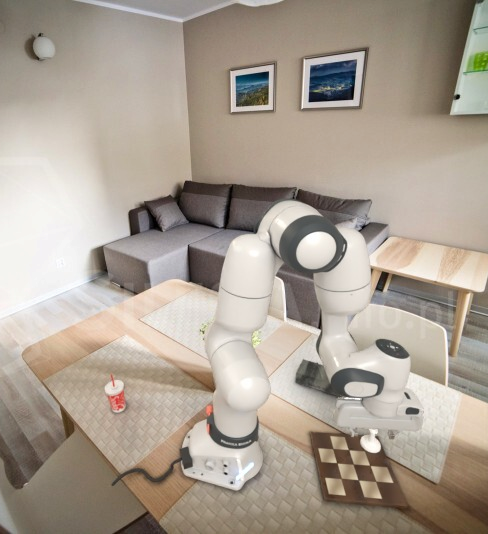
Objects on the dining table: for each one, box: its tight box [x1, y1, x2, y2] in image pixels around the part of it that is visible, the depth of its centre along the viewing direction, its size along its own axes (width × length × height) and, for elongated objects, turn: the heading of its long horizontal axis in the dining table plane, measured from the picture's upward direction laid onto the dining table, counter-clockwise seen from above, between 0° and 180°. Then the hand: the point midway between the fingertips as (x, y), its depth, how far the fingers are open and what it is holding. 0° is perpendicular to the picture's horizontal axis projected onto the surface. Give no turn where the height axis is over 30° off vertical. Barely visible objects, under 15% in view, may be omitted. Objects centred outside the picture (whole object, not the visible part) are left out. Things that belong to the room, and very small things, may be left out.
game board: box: [309, 431, 408, 510], centre depth 84 cm, size 18×18×1 cm
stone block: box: [295, 358, 342, 398], centre depth 111 cm, size 9×14×5 cm, turn 57°
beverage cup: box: [104, 374, 127, 414], centre depth 106 cm, size 6×6×14 cm
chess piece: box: [360, 428, 381, 453], centre depth 86 cm, size 5×5×10 cm
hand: (372, 436), depth 87 cm, fingers open, 8 cm apart
